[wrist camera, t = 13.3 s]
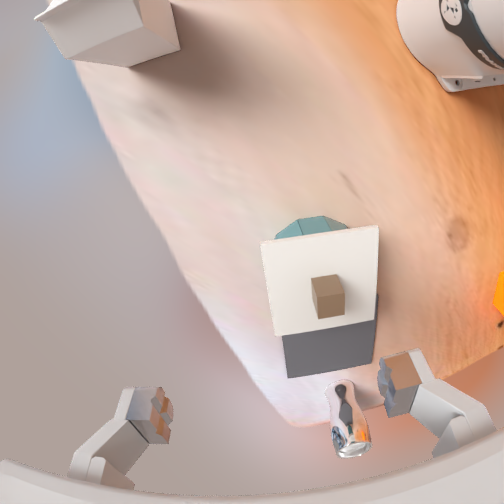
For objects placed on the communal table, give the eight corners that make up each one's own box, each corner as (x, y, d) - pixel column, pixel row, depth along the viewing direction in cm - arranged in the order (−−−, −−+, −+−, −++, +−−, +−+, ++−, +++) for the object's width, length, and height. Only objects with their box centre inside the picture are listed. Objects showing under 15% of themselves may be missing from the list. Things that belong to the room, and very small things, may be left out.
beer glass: (317, 386, 58) (330, 450, 45) (350, 373, 57) (369, 437, 44) (328, 402, 61) (340, 462, 48) (359, 390, 60) (376, 449, 47)
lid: (376, 224, 36) (391, 242, 32) (372, 316, 42) (383, 338, 38) (259, 241, 37) (261, 262, 33) (274, 332, 43) (277, 357, 39)
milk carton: (181, 50, 32) (125, 15, 15) (126, 68, 32) (39, 58, 15) (170, 1, 28) (113, -60, 12) (116, 20, 29) (30, -16, 12)
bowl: (356, 211, 42) (371, 229, 36) (356, 290, 48) (368, 314, 42) (261, 224, 42) (263, 245, 37) (273, 303, 48) (277, 329, 43)
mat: (377, 293, 48) (378, 296, 48) (370, 361, 55) (371, 363, 55) (278, 310, 49) (278, 313, 49) (287, 376, 56) (287, 378, 56)
